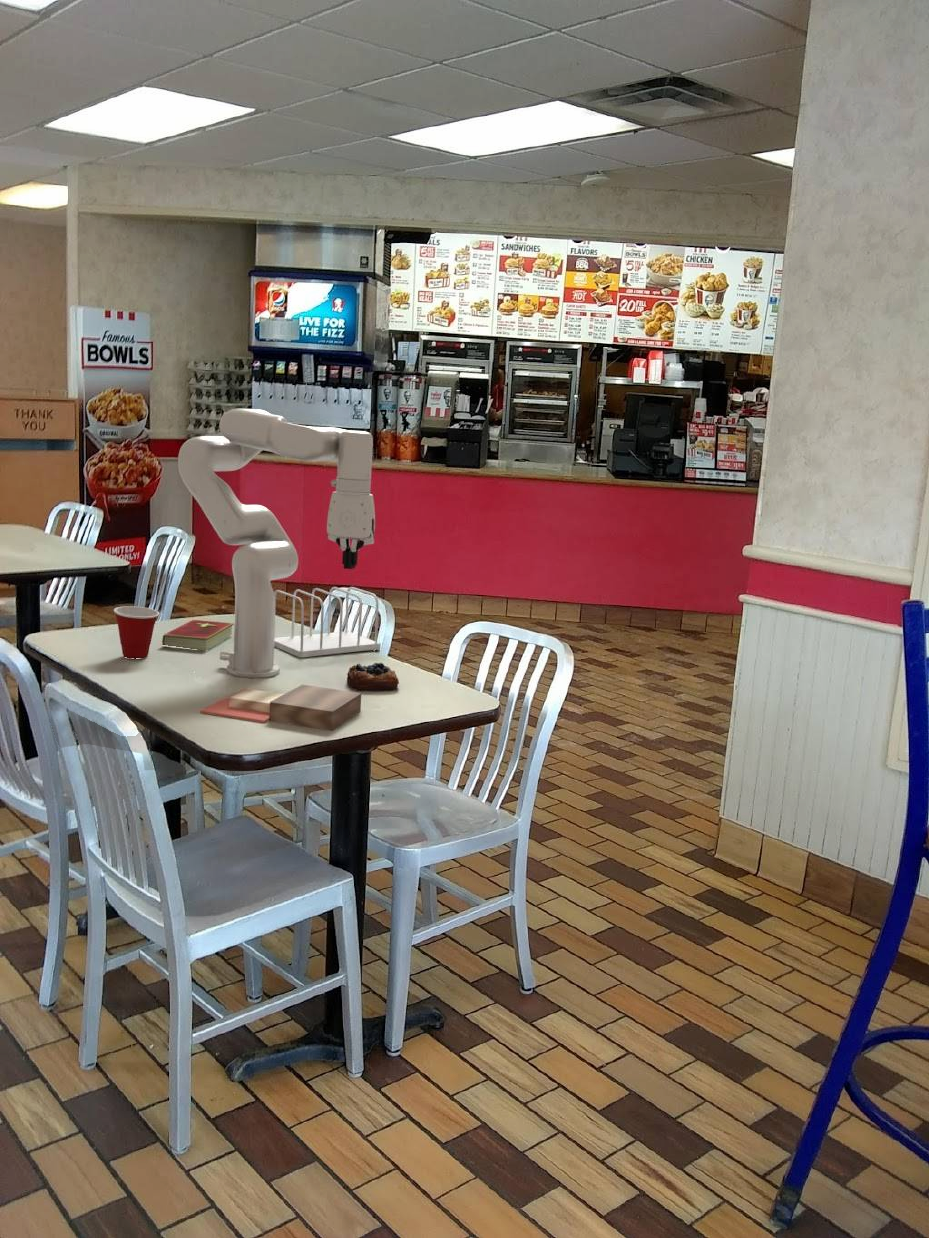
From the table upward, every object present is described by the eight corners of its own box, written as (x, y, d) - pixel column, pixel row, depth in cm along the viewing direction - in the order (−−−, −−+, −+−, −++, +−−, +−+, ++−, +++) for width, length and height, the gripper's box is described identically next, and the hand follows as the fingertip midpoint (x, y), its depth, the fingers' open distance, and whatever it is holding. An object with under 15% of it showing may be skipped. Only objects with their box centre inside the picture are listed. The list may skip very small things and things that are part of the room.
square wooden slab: (269, 720, 222) (269, 701, 221) (301, 701, 237) (302, 684, 236) (331, 730, 218) (332, 711, 217) (360, 710, 233) (361, 693, 233)
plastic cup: (147, 664, 259) (147, 615, 257) (105, 659, 261) (105, 611, 259) (166, 654, 270) (167, 608, 268) (126, 650, 272) (126, 604, 269)
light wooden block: (229, 706, 228) (229, 697, 227) (246, 697, 235) (246, 688, 235) (276, 713, 225) (277, 704, 225) (292, 704, 233) (292, 695, 232)
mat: (200, 712, 224) (200, 710, 224) (244, 690, 243) (245, 688, 243) (264, 722, 220) (264, 720, 220) (304, 699, 239) (305, 697, 239)
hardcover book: (162, 649, 277) (162, 633, 277) (191, 633, 298) (191, 618, 297) (206, 653, 276) (207, 637, 275) (233, 637, 297) (233, 622, 296)
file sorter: (347, 637, 305) (350, 583, 302) (380, 650, 292) (384, 594, 289) (268, 644, 290) (270, 587, 287) (299, 658, 276) (302, 599, 273)
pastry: (342, 681, 258) (343, 657, 257) (390, 680, 262) (391, 656, 261) (352, 693, 248) (354, 668, 247) (402, 692, 252) (404, 668, 251)
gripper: (315, 484, 236) (312, 566, 240) (379, 490, 232) (374, 574, 236) (329, 483, 243) (325, 562, 247) (390, 489, 239) (386, 569, 243)
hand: (349, 568), depth 241 cm, fingers closed
